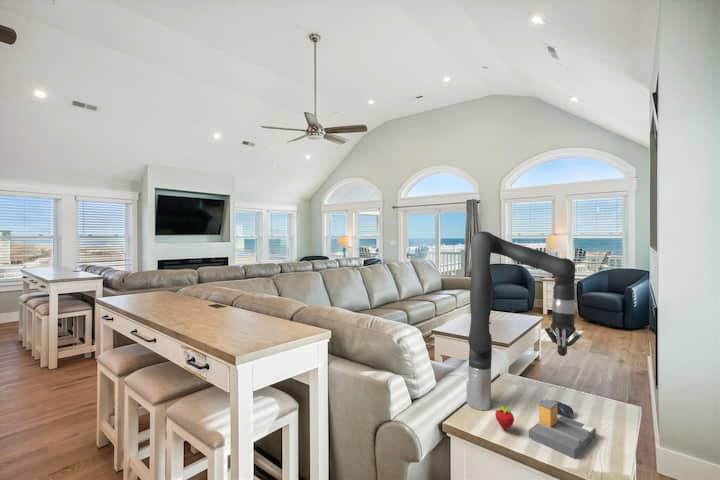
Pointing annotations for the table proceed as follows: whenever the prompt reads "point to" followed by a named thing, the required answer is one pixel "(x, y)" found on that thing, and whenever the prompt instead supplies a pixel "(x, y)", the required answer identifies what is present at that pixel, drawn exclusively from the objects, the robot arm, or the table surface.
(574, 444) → the panel
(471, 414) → the table surface
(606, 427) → the table surface
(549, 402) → the breaker toggle
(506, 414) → the strawberry
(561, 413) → the seashell
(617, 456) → the table surface
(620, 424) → the table surface
